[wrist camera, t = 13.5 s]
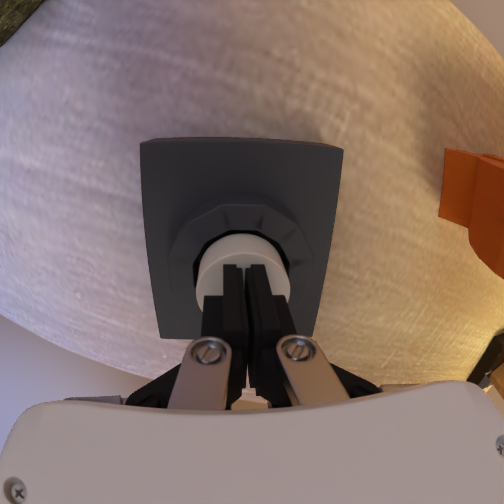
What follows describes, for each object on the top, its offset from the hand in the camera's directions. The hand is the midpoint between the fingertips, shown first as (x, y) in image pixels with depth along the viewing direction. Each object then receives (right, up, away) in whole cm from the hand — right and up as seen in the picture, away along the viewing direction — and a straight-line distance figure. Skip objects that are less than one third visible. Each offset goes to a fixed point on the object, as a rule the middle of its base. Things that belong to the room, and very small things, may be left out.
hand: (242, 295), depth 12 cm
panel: (+38, -14, +18) cm, 45 cm away
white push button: (0, +1, +2) cm, 2 cm away
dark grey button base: (-1, +3, +6) cm, 7 cm away
